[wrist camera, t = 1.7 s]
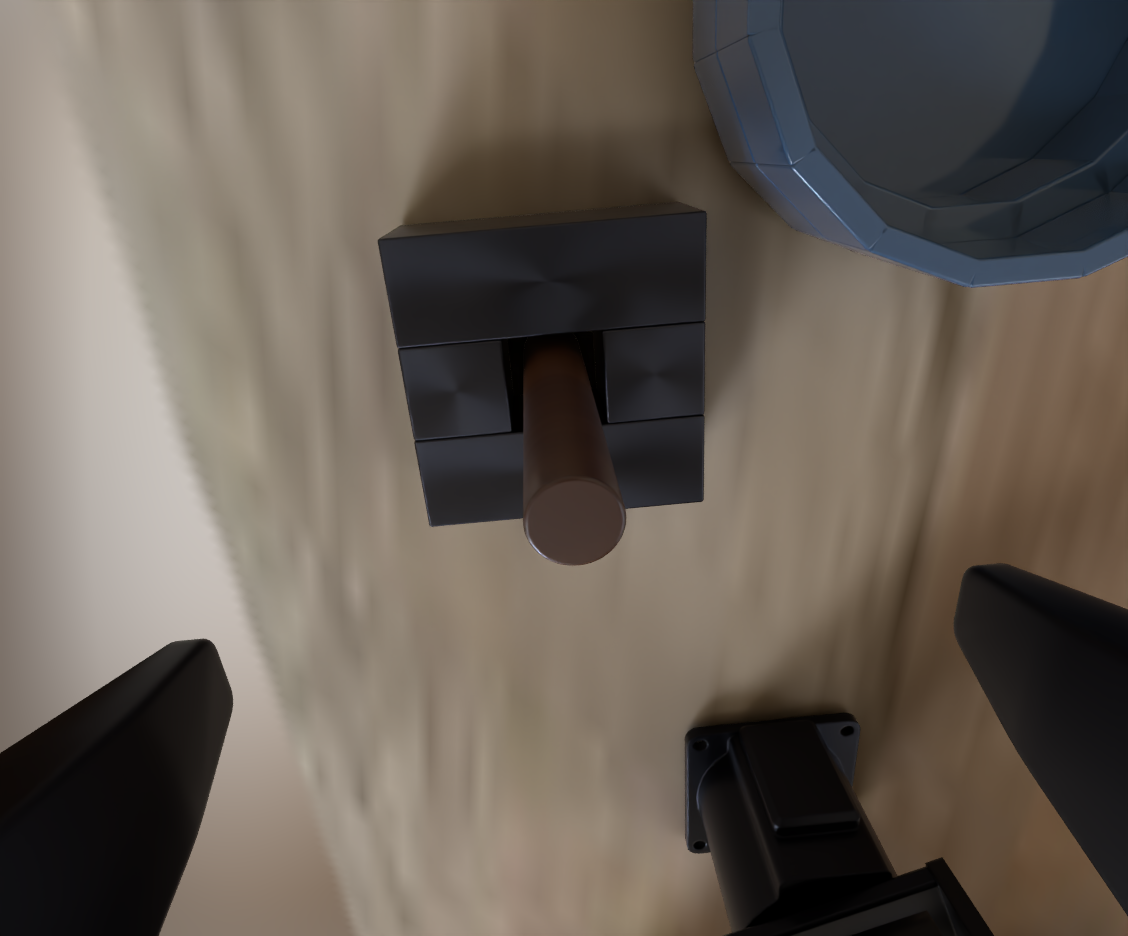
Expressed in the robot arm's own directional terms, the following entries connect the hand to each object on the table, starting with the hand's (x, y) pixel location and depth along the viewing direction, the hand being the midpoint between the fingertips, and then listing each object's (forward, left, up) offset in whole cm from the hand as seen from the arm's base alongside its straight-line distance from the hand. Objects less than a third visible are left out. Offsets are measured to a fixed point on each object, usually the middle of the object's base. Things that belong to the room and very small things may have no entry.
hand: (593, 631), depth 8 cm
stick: (0, 0, -13) cm, 13 cm away
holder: (0, 0, -13) cm, 13 cm away
